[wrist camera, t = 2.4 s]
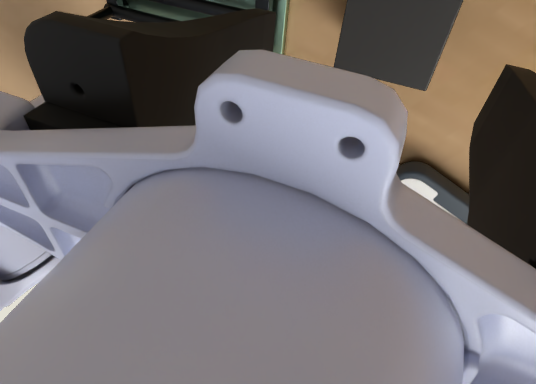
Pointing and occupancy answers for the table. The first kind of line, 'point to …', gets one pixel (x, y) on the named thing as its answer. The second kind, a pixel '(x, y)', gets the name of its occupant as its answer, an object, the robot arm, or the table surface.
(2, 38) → the table surface
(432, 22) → the black box
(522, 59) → the table surface
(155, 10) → the rack
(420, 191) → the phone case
